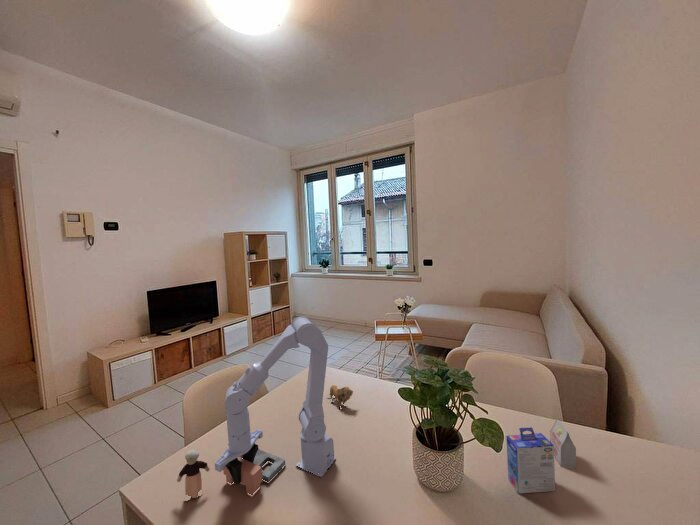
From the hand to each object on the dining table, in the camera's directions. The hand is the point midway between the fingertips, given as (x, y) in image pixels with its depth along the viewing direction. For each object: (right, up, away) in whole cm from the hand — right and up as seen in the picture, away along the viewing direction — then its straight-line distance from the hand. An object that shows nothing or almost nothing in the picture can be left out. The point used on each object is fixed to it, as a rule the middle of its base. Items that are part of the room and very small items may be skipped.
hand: (242, 477), depth 79 cm
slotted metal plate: (+2, -2, +7) cm, 8 cm away
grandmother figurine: (-12, -4, -2) cm, 13 cm away
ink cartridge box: (+78, +1, -4) cm, 78 cm away
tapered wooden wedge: (0, -3, 0) cm, 3 cm away
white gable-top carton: (+92, +2, +4) cm, 92 cm away
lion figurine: (+26, +1, +39) cm, 46 cm away
